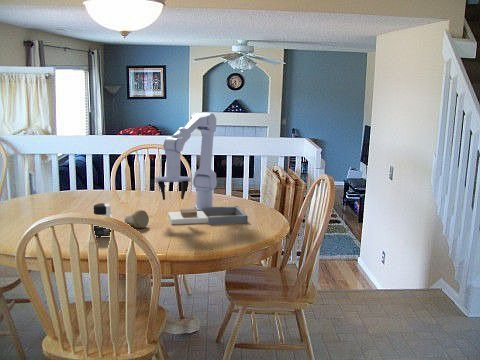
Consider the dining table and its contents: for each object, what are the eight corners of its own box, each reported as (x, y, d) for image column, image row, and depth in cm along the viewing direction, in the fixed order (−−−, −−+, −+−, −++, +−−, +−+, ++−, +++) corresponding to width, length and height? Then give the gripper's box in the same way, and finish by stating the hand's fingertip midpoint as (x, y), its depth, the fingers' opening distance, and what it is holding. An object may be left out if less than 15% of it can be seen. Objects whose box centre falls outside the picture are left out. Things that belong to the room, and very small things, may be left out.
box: (201, 213, 226) (201, 207, 226) (237, 212, 230) (237, 206, 230) (208, 224, 210) (208, 217, 210) (247, 222, 214) (247, 215, 214)
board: (168, 216, 220) (168, 212, 220) (202, 215, 224) (202, 210, 224) (171, 224, 209) (171, 219, 209) (207, 222, 213) (207, 218, 212)
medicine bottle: (92, 238, 188) (91, 206, 185) (93, 233, 194) (92, 202, 192) (112, 237, 189) (112, 206, 187) (112, 232, 196) (111, 201, 194)
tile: (180, 213, 218) (180, 209, 218) (194, 213, 220) (194, 208, 219) (182, 217, 213) (182, 212, 212) (196, 216, 214) (197, 211, 214)
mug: (130, 223, 210) (141, 203, 208) (143, 237, 205) (155, 217, 203) (116, 222, 204) (128, 202, 202) (129, 237, 199) (142, 216, 197)
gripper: (156, 168, 203) (156, 201, 206) (192, 168, 208) (192, 200, 210) (154, 165, 210) (154, 198, 213) (189, 165, 214) (189, 197, 217)
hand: (173, 199), depth 212 cm, fingers open, 7 cm apart
